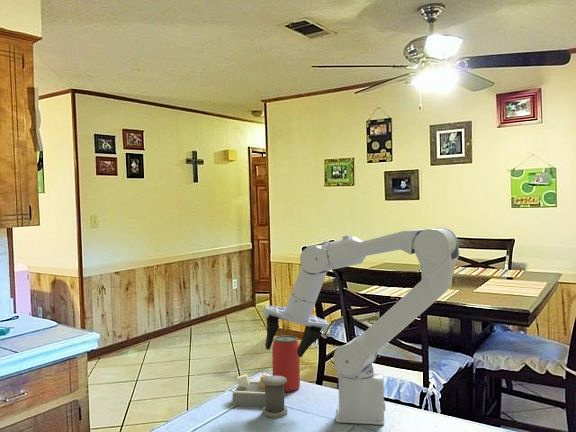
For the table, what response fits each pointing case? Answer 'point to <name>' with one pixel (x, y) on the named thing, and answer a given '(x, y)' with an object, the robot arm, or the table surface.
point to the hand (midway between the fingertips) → (283, 351)
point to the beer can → (286, 361)
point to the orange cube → (261, 380)
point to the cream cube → (243, 380)
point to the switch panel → (250, 395)
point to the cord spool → (274, 396)
